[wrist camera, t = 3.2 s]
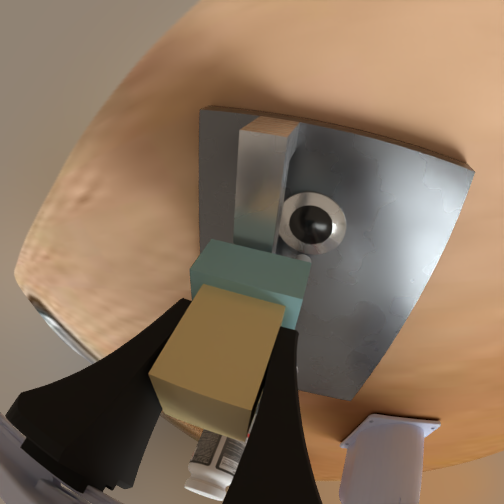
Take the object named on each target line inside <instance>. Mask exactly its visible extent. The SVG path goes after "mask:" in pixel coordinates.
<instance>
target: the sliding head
mask: <svg viewBox="0 0 504 504" xmlns="http://www.w3.org/2000/svg"><path fill="white" fill-rule="evenodd" d="M311 264H312V263H311V259H310V257H309V256H307V255H305V254H300V255H297V256H296V258H295V259H293V258H289V257H285V256H281V255H277V254H273V253H269V252H265V251H260V250H256V249H252V248H248V247H244V246H240V245H236V244H231V243H227V242H223V241H219V240H215V239H211V240H210V242H209V243H208V244H207V246H206V247H205V249H204V250H203V251H202V253H201V254H200V256H199V257H198V258H197V260H196V261H195V263H194V264H193V265H192V267H191V268H190V282H191V295H192V302H191V304H190V305H189V307H188V309H187V310H186V312H185V314H184V315H183V317H182V318H181V320H180V322H179V323H178V325H177V327H176V328H175V330H174V332H173V333H172V335H171V337H170V338H169V340H168V341H167V343H166V345H165V346H164V348H163V350H162V351H161V353H160V355H159V356H158V358H157V360H156V361H155V363H154V365H153V366H152V368H151V370H150V371H149V373H148V374H149V377H150V380H151V382H152V385H153V387H154V390H155V392H156V395H157V397H158V399H159V402H160V404H161V406H162V409H163V411H164V413H165V414H167V415H169V416H171V417H174V418H176V419H179V420H181V421H184V422H187V423H189V424H192V425H195V426H197V427H200V428H203V429H206V430H208V431H211V432H214V433H217V434H220V435H223V436H226V437H229V438H233V439H236V440H239V441H243V442H245V440H246V438H247V435H248V432H249V429H250V426H251V424H252V421H253V418H254V415H255V412H256V409H257V406H258V403H259V400H260V397H261V394H262V391H263V387H264V383H265V379H266V375H267V370H268V366H269V361H270V357H271V353H272V349H273V346H274V343H275V340H276V337H277V334H278V331H279V329H280V326H282V327H286V328H289V329H293V330H295V326H296V323H297V319H298V316H299V312H300V308H301V305H302V301H303V297H304V293H305V289H306V285H307V281H308V277H309V272H310V268H311Z"/></svg>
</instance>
